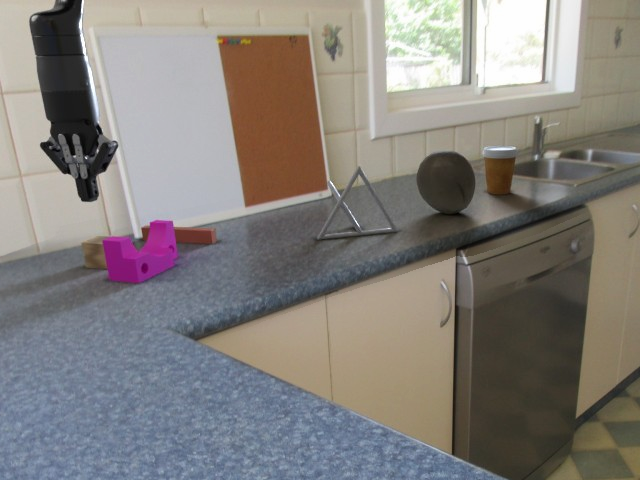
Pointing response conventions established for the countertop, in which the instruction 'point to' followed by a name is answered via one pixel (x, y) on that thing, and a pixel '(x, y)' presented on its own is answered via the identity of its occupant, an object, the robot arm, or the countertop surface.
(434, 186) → the dark grey ball
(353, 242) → the countertop surface
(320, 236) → the wire frame
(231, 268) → the countertop surface
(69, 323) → the countertop surface
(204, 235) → the rail
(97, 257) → the beech cube
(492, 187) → the disposable coffee cup
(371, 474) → the countertop surface
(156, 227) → the toy block
